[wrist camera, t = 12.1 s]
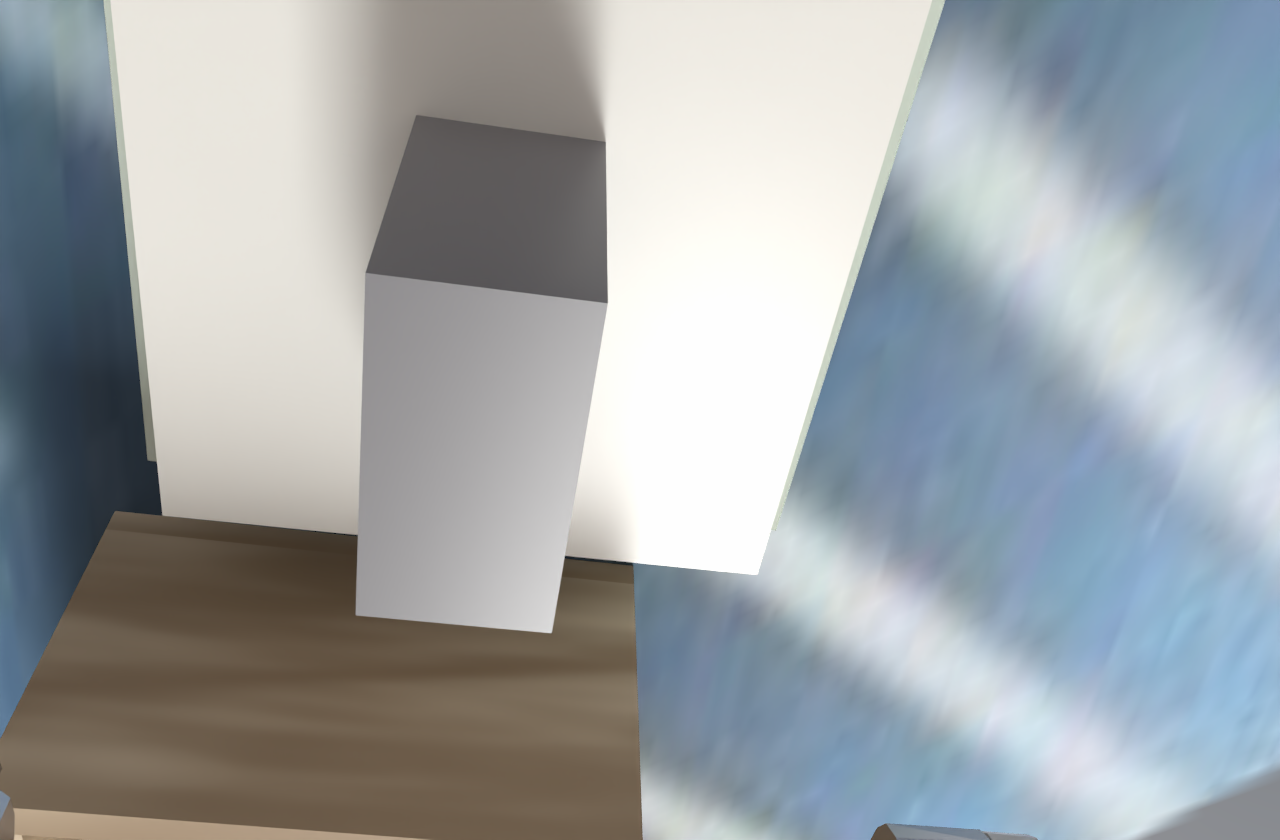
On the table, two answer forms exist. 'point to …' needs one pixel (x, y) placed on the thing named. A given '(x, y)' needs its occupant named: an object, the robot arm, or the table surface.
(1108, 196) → the table surface
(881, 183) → the mat
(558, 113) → the lid
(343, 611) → the box
